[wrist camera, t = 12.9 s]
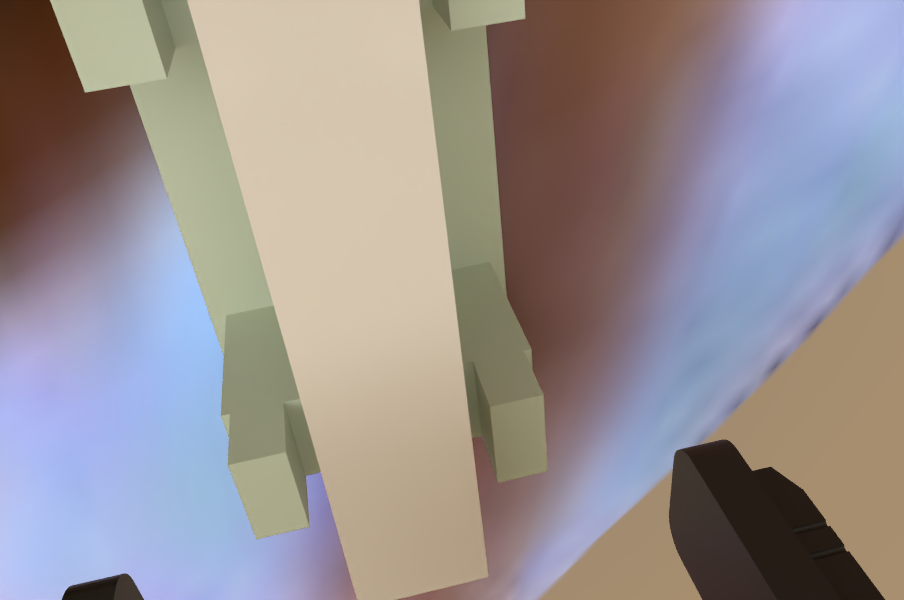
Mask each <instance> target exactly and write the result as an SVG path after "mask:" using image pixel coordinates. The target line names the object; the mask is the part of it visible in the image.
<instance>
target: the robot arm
mask: <svg viewBox="0 0 904 600" xmlns="http://www.w3.org/2000/svg"><path fill="white" fill-rule="evenodd" d="M669 522H670V529H671V533H672V537H673V540H674V544H675V546H676V549H677V551H678V554H679V556H680V558H681V560H682V562H683V563H684V565H685V567H686V569H687V571H688V573H689V575H690V577H691V579H692V581H693V582H694V584H695V586H696V588H697V590H698V592H699V594H700V596H701V598H702V600H885V599H884V598H883V596H882V595H881V594H880V592H879V591H878V590H877V588H876V587H875V586H874V584H873V583H872V582H871V580H870V579H869V577H868V576H867V575H866V573H865V572H864V571H863V569H862V568H861V567H860V565H859V564H858V563H857V561H856V560H855V559H854V557H853V556H852V555H851V554H850V552H849V551H848V552H847V551H846V550H845V548H844V544H843V543H842V541H841V540H840V539H839V537H838V536H837V534H836V533H835V532H834V531H833V529H832V528H831V526H829V527H828V526H827V524H826V520H825V518H824V517H823V516H822V514H821V513H820V512H819V510H818V509H817V508H816V506H815V505H814V504H813V502H812V501H811V500H810V498H809V497H808V496H807V494H806V493H805V492H804V490H803V489H801V488H800V487H798V486H797V485H796V484H794V483H793V482H791V481H790V480H788V479H787V478H786V477H784V476H783V475H782V474H780V473H779V472H777V471H776V470H774V469H773V468H772V467H768V468H763V469H759V470H755V471H752V470H751V469H750V467H749V466H748V464H747V463H746V462H745V460H744V459H743V457H742V456H741V454H740V453H739V451H738V450H737V449H736V447H735V446H734V445H733V444H732V443H731V442H730V441H728V440H719V441H715V442H710V443H706V444H702V445H697V446H693V447H688V448H684V449H680V450H677V451H676V453H675V455H674V463H673V475H672V486H671V497H670V509H669ZM62 600H144V599H143V597H142V595H141V594H140V592H139V590H138V588H137V586H136V585H135V583H134V581H133V579H132V578H131V577H130V576H129V575H128V574H121V575H116V576H112V577H107V578H103V579H99V580H94V581H90V582H85V583H81V584H77V585H72V586H70V587H69V588H68V589H67V590H66V591H65V593H64V595H63V598H62Z"/></svg>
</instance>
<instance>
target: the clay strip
mask: <svg viewBox="0 0 904 600" xmlns="http://www.w3.org/2000/svg"><path fill="white" fill-rule="evenodd" d="M187 2H188V5H189V9H190V12H191V16H192V19H193V23H194V26H195V30H196V33H197V37H198V41H199V44H200V48H201V51H202V55H203V58H204V62H205V65H206V69H207V72H208V76H209V79H210V83H211V86H212V90H213V93H214V97H215V100H216V104H217V107H218V111H219V115H220V118H221V122H222V125H223V129H224V132H225V136H226V139H227V143H228V146H229V150H230V153H231V157H232V160H233V164H234V167H235V171H236V174H237V178H238V181H239V185H240V189H241V192H242V196H243V199H244V203H245V206H246V210H247V213H248V217H249V220H250V224H251V227H252V231H253V234H254V238H255V241H256V245H257V248H258V252H259V255H260V259H261V263H262V266H263V270H264V273H265V277H266V280H267V284H268V287H269V291H270V294H271V298H272V301H273V305H274V308H275V312H276V315H277V319H278V322H279V326H280V329H281V333H282V337H283V340H284V344H285V347H286V351H287V354H288V358H289V361H290V365H291V368H292V372H293V375H294V379H295V382H296V386H297V389H298V393H299V396H300V400H301V403H302V407H303V411H304V414H305V418H306V421H307V425H308V428H309V432H310V435H311V439H312V442H313V446H314V449H315V453H316V456H317V460H318V463H319V467H320V470H321V474H322V477H323V481H324V485H325V488H326V492H327V495H328V499H329V502H330V506H331V509H332V513H333V516H334V520H335V523H336V527H337V530H338V534H339V537H340V541H341V544H342V548H343V551H344V555H345V559H346V562H347V566H348V569H349V573H350V576H351V580H352V583H353V587H354V590H355V594H356V597H357V600H396V599H400V598H405V597H409V596H413V595H417V594H421V593H425V592H429V591H433V590H437V589H441V588H445V587H449V586H453V585H458V584H462V583H466V582H470V581H474V580H478V579H482V578H486V577H488V568H487V560H486V552H485V544H484V535H483V527H482V519H481V511H480V502H479V494H478V486H477V477H476V469H475V461H474V453H473V444H472V436H471V428H470V419H469V411H468V403H467V395H466V386H465V378H464V370H463V361H462V353H461V345H460V337H459V328H458V320H457V312H456V304H455V295H454V287H453V279H452V270H451V262H450V254H449V246H448V237H447V229H446V221H445V212H444V204H443V196H442V188H441V179H440V171H439V163H438V154H437V146H436V138H435V130H434V121H433V113H432V105H431V97H430V88H429V80H428V72H427V63H426V55H425V47H424V39H423V30H422V22H421V14H420V5H419V0H187Z"/></svg>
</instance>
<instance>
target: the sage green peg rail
mask: <svg viewBox="0 0 904 600" xmlns="http://www.w3.org/2000/svg"><path fill="white" fill-rule="evenodd" d="M50 1H51V4H52V7H53V9H54V12H55V15H56V17H57V20H58V22H59V25H60V28H61V30H62V33H63V35H64V38H65V41H66V43H67V46H68V49H69V51H70V54H71V56H72V59H73V62H74V64H75V67H76V69H77V72H78V75H79V77H80V80H81V82H82V85H83V88H84V90H85V92H90V91H96V90H102V89H108V88H114V87H120V86H126V85H130V87H131V90H132V93H133V96H134V99H135V102H136V104H137V107H138V110H139V113H140V116H141V119H142V122H143V125H144V128H145V130H146V133H147V136H148V139H149V142H150V145H151V148H152V151H153V153H154V156H155V159H156V162H157V165H158V168H159V171H160V174H161V176H162V179H163V182H164V185H165V188H166V191H167V194H168V197H169V199H170V202H171V205H172V208H173V211H174V214H175V217H176V220H177V223H178V225H179V228H180V231H181V234H182V237H183V240H184V243H185V246H186V248H187V251H188V254H189V257H190V260H191V263H192V266H193V269H194V271H195V274H196V277H197V280H198V283H199V286H200V289H201V292H202V294H203V297H204V300H205V303H206V306H207V309H208V312H209V315H210V317H211V320H212V323H213V326H214V329H215V332H216V335H217V338H218V341H219V343H220V346H221V349H222V352H223V355H224V365H223V384H222V404H221V417H222V420H223V423H224V426H225V428H226V431H227V434H228V436H229V452H228V466H229V469H230V472H231V474H232V477H233V480H234V482H235V485H236V487H237V490H238V493H239V495H240V498H241V500H242V503H243V506H244V508H245V511H246V513H247V516H248V519H249V521H250V524H251V527H252V529H253V532H254V534H255V537H256V539H260V538H264V537H269V536H273V535H277V534H282V533H286V532H290V531H294V530H299V529H303V528H307V527H310V526H309V513H308V499H307V486H306V475H310V474H315V473H319V472H321V470H320V467H319V463H318V460H317V456H316V453H315V449H314V446H313V442H312V439H311V435H310V432H309V428H308V425H307V421H306V418H305V414H304V411H303V407H302V403H301V400H300V396H299V393H298V389H297V386H296V382H295V379H294V375H293V372H292V368H291V365H290V361H289V358H288V354H287V351H286V347H285V344H284V340H283V337H282V333H281V329H280V326H279V322H278V319H277V315H276V312H275V308H274V305H273V301H272V298H271V294H270V291H269V287H268V284H267V280H266V277H265V273H264V270H263V266H262V263H261V259H260V255H259V252H258V248H257V245H256V241H255V238H254V234H253V231H252V227H251V224H250V220H249V217H248V213H247V210H246V206H245V203H244V199H243V196H242V192H241V189H240V185H239V181H238V178H237V174H236V171H235V167H234V164H233V160H232V157H231V153H230V150H229V146H228V143H227V139H226V136H225V132H224V129H223V125H222V122H221V118H220V115H219V111H218V107H217V104H216V100H215V97H214V93H213V90H212V86H211V83H210V79H209V76H208V72H207V69H206V65H205V62H204V58H203V55H202V51H201V48H200V44H199V41H198V37H197V33H196V30H195V26H194V23H193V19H192V16H191V12H190V9H189V5H188V2H187V0H50ZM419 5H420V14H421V22H422V30H423V39H424V47H425V55H426V63H427V72H428V80H429V88H430V97H431V105H432V113H433V121H434V130H435V138H436V146H437V154H438V163H439V171H440V179H441V188H442V196H443V204H444V212H445V221H446V229H447V237H448V246H449V254H450V262H451V270H452V279H453V287H454V295H455V304H456V312H457V320H458V328H459V337H460V345H461V353H462V361H463V370H464V378H465V386H466V395H467V403H468V411H469V419H470V428H471V436H472V438H474V437H478V436H482V438H483V441H484V444H485V447H486V450H487V453H488V456H489V459H490V462H491V464H492V467H493V470H494V473H495V476H496V479H497V482H498V483H500V482H504V481H508V480H512V479H517V478H521V477H525V476H530V475H534V474H538V473H542V472H547V452H546V432H545V411H544V394H543V392H542V390H541V388H540V386H539V384H538V382H537V379H536V377H535V375H534V373H533V367H532V350H531V347H530V345H529V343H528V341H527V339H526V337H525V334H524V332H523V330H522V328H521V326H520V324H519V322H518V320H517V318H516V316H515V314H514V312H513V309H512V307H511V305H510V303H509V301H508V299H507V294H506V281H505V268H504V255H503V242H502V229H501V217H500V204H499V191H498V178H497V165H496V152H495V139H494V126H493V114H492V101H491V88H490V75H489V62H488V49H487V36H486V25H490V24H496V23H502V22H508V21H514V20H520V19H525V3H524V0H419Z"/></svg>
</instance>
